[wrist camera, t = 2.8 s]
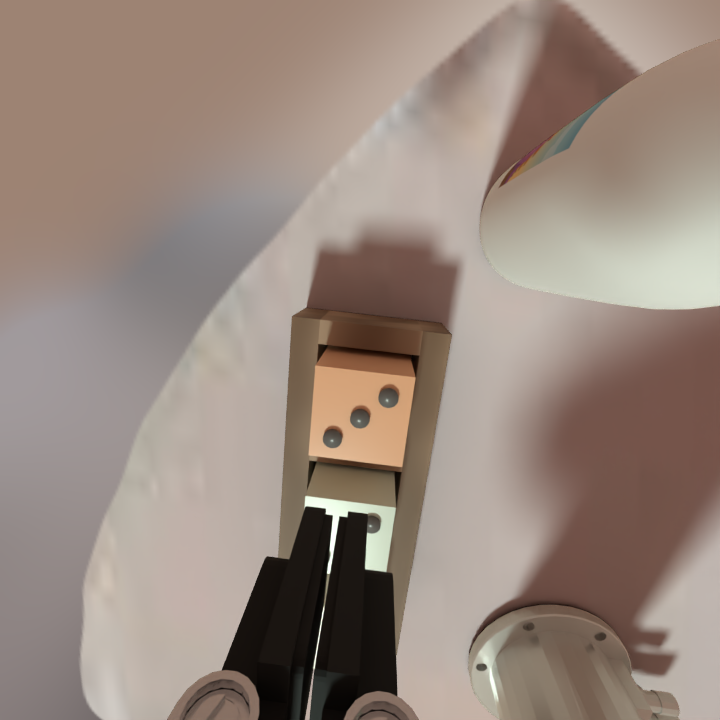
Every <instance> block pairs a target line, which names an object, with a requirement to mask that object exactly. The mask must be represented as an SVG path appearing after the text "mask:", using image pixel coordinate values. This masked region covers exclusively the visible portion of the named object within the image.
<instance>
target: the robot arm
mask: <svg viewBox="0 0 720 720" xmlns="http://www.w3.org/2000/svg"><path fill="white" fill-rule="evenodd" d="M332 521H333V515H327V514H326V508H318V507H310V506H306V507H305V509H304V512H303V516H302V519H301V522H300V525H299V529H298V532H297V535H296V539H295V542H294V545H293V548H292V552H291V555H290V558H289V559H283V558H275V557H268V556H267V557H266V559H265V560H264V563H263V565H262V567H261V570H260V573H259V575H258V578H257V580H256V583H255V586H254V588H253V591H252V593H251V596H250V598H249V601H248V604H247V606H246V609H245V611H244V614H243V617H242V619H241V622H240V624H239V627H238V630H237V632H236V635H235V637H234V640H233V642H232V645H231V648H230V650H229V653H228V655H227V658H226V661H225V663H224V666H223V668H222V671H217V672H212V673H210V674H208V675H206V676H204V677H202V678H200V679H199V680H198V681H196V682H195V683H194V684H193V685H192V686H190V687H189V688H188V689H187V690H186V692H185V693H184V694H183V695H182V697H181V698H180V699H179V701H178V702H177V704H176V705H175V707H174V709H173V710H172V712H171V714H170V715H169V717H168V719H167V720H305V715H306V709H307V703H308V697H309V691H310V685H311V679H312V673H313V667H314V661H315V655H316V649H317V643H318V637H319V631H320V625H321V619H322V613H323V607H324V600H325V591H326V581H327V571H328V561H329V551H330V541H331V531H332ZM367 524H368V514H366V513H358V512H350V511H348V515H347V517H343V516H339V521H338V527H337V534H336V540H335V546H334V552H333V558H332V564H331V570H330V576H329V582H328V588H327V595H326V601H325V607H324V613H323V619H322V625H321V631H320V637H319V643H318V650H317V656H316V663H315V670H314V679H313V689H312V699H311V710H310V720H419V719H418V717H417V716H416V714H415V713H414V711H413V709H412V708H411V707H410V706H409V705H408V704H407V703H405V702H404V701H403V700H402V699H401V698H399V697H397V671H396V642H395V614H394V585H393V574H392V573H390V572H383V571H375V570H367V569H365V561H366V543H367ZM468 670H469V675H470V681H471V685H472V688H473V691H474V694H475V695H476V697H477V699H478V700H479V702H480V703H481V704H482V705H483V706H484V707H485V708H486V709H487V710H488V711H489V712H490V713H491V714H492V715H494V716H495V717H497V718H498V719H500V720H680V719H679V718H678V717H677V716H679V711H680V710H679V706H678V703H677V701H676V699H675V697H674V696H673V695H672V694H671V693H668V692H662V691H655V690H651V691H647V690H643V689H642V688H641V687H640V686H639V685H637V684H636V683H635V681H634V679H633V678H632V676H631V673H632V672H631V661H630V658H629V655H628V652H627V650H626V648H625V647H624V645H623V643H622V642H621V640H620V638H619V637H618V635H617V634H616V633H615V632H614V631H613V629H612V628H611V627H610V626H609V625H608V624H606V623H605V622H604V621H603V620H601V619H600V618H598V617H596V616H594V615H592V614H590V613H588V612H586V611H583V610H580V609H577V608H573V607H568V606H561V605H537V606H530V607H525V608H521V609H518V610H515V611H512V612H510V613H508V614H506V615H504V616H502V617H500V618H498V619H496V620H495V621H494V622H492V623H491V624H490V625H488V626H487V627H486V628H485V629H484V630H483V631H482V632H481V634H480V635H479V636H478V637H477V639H476V641H475V642H474V644H473V646H472V648H471V651H470V655H469V661H468Z"/></svg>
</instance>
